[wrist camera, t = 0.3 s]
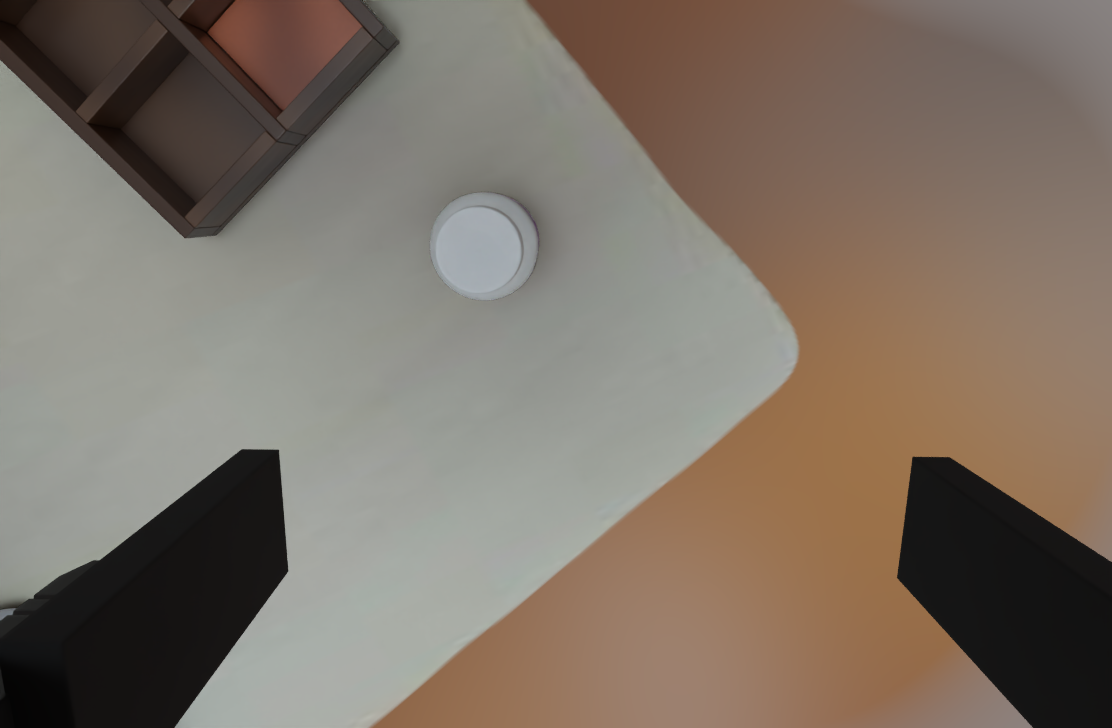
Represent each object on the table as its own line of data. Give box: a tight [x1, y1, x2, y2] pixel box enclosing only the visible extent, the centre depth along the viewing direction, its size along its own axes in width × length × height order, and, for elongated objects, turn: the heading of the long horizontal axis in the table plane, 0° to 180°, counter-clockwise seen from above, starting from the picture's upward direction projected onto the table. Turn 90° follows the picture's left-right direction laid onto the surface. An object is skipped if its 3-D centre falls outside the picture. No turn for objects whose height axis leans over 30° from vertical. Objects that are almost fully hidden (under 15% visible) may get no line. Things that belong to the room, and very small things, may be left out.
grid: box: [0, 0, 399, 238], centre depth 38 cm, size 15×15×4 cm
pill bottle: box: [430, 192, 539, 301], centre depth 37 cm, size 5×5×10 cm
